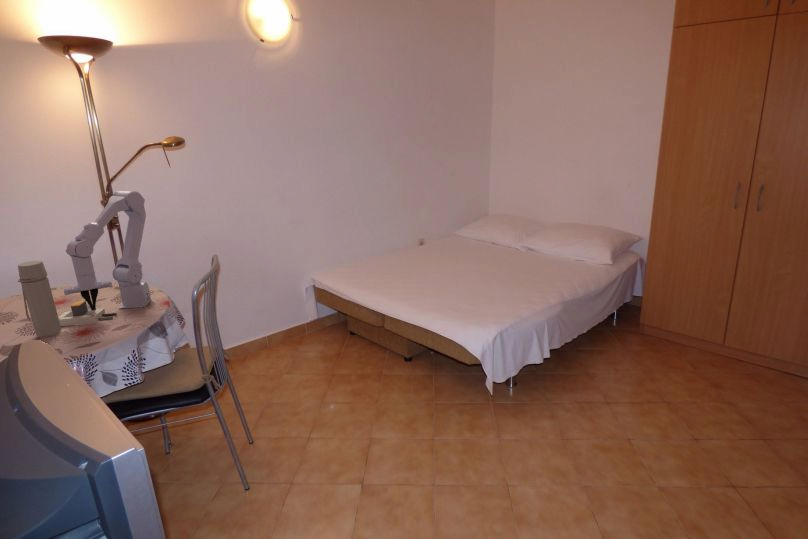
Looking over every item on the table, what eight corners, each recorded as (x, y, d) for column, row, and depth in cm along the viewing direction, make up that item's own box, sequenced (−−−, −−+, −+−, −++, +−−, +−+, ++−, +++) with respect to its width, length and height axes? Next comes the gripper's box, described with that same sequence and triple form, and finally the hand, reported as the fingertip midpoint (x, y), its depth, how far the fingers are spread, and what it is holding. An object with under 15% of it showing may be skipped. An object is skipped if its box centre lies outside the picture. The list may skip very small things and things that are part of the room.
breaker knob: (87, 310, 177) (85, 300, 176) (82, 315, 173) (79, 304, 172) (79, 311, 177) (76, 301, 176) (73, 315, 173) (70, 305, 171)
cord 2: (116, 315, 179) (116, 312, 179) (115, 316, 178) (115, 313, 178) (102, 316, 179) (101, 313, 178) (101, 317, 178) (100, 314, 177)
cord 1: (113, 318, 176) (112, 315, 176) (112, 319, 175) (111, 316, 175) (98, 319, 175) (97, 317, 175) (97, 320, 174) (96, 318, 174)
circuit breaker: (105, 314, 180) (104, 307, 179) (96, 323, 172) (94, 316, 172) (67, 317, 178) (65, 311, 177) (56, 326, 171) (54, 319, 170)
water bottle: (67, 328, 168) (49, 259, 161) (52, 338, 161) (33, 266, 153) (40, 329, 168) (21, 260, 161) (24, 339, 161) (3, 267, 153)
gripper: (108, 267, 178) (115, 301, 182) (60, 274, 171) (69, 310, 175) (109, 271, 173) (117, 307, 177) (60, 279, 165) (69, 316, 169)
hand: (93, 309), depth 175 cm, fingers closed
